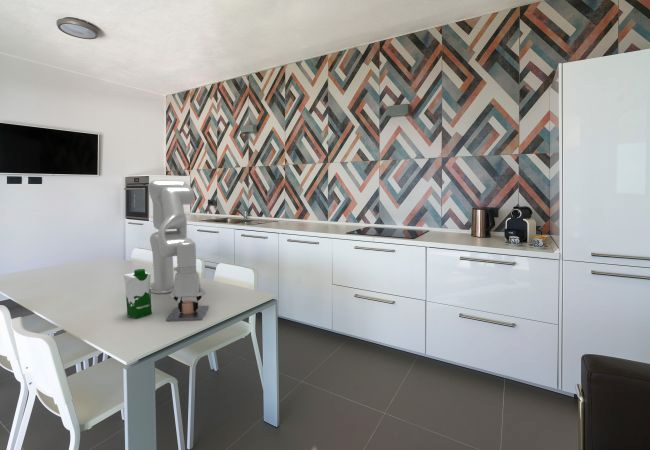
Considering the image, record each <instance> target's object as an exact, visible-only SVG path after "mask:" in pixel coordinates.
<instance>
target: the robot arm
mask: <svg viewBox="0 0 650 450" xmlns="http://www.w3.org/2000/svg"><path fill="white" fill-rule="evenodd" d="M147 187H148V194H149V197H150V199H151V202H152V223H153V227H154V229H156V230H158V231H156V232H153V233H152V234H151V235H150V237H149V243H150V247H151V252H152V265H153V268H152V269H153V282H150V291H151V294H158V295H159V294H168V293H169V297H170V298H172V299H174V301H176V302H177V306H178V309H180V312H182V302H183V301H184V300H183V298H193V299H192V300H194V303H193V308H194V312H195V311H196V310H197V309H198V306H199V301H200V300H201V299H202V298H203V297H204V296H205V295H206V291H205V290H204V289H203V288H202V287H201V280H200V275H199V272H198V271H197V252H196V249H197V248H196V247H197V246H196V242H195V241H193V239H192V238H188V237H187V236H188V235H187V231H188V230H187V229H188V228H187V227H188V226H187V225H188V224H187V223H188V222H187V219H188V218H187V216H186V213H185V209H184V206H185V205H186V206H187V205H193V204H194V202H195V199H196V198H195V192H194V190H193V189H192V187H191V185H190V184H189V183H187V182H186V181H185V180H168V179H167V180H166V179H160V180H159V179H157V180H151V181H150V182H149V183H148V186H147ZM174 257H176V264H177V265H176V267H174ZM174 271H176V273H174ZM174 274H175V275H174Z"/></svg>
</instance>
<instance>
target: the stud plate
mask: <svg viewBox="0 0 650 450" xmlns="http://www.w3.org/2000/svg"><path fill="white" fill-rule="evenodd" d="M209 308H210V306H209V305H208V304H207V305H198V309H197V310H196V311H195V312H193V313H190V314H184V313H182V312H180V309H178V305H177V306H175V308H174V309H173V310H172V311H171V312H170V313H169V314H168V316H167V317H166V318H165V321H166V322H180V321H181V322H184V321H190V322H191V321H202V320H203V318H204V316H205V314H206V313H207V312H208V310H209Z"/></svg>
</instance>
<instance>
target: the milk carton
mask: <svg viewBox="0 0 650 450" xmlns="http://www.w3.org/2000/svg"><path fill="white" fill-rule="evenodd" d="M123 278H124V283H125V298H126V315H127V316H128V315H129V317H131V318H133V319H135V320H136V319H140V318H143V317H145V316H149V315H151V314H153V313H152V312H153V311H152V310H153V309H152V295H151V294H152V292H151V287H150V283H151V273H149V272H147V271H146V269H144V268H137V269H135V270H134V272H130V273H125V274H123Z"/></svg>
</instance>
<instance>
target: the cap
mask: <svg viewBox="0 0 650 450" xmlns="http://www.w3.org/2000/svg"><path fill="white" fill-rule="evenodd" d="M182 301H183V302H182V313H184V314H190V313H193V312H194V308H193V303H194V299H188V300H182Z"/></svg>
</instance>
